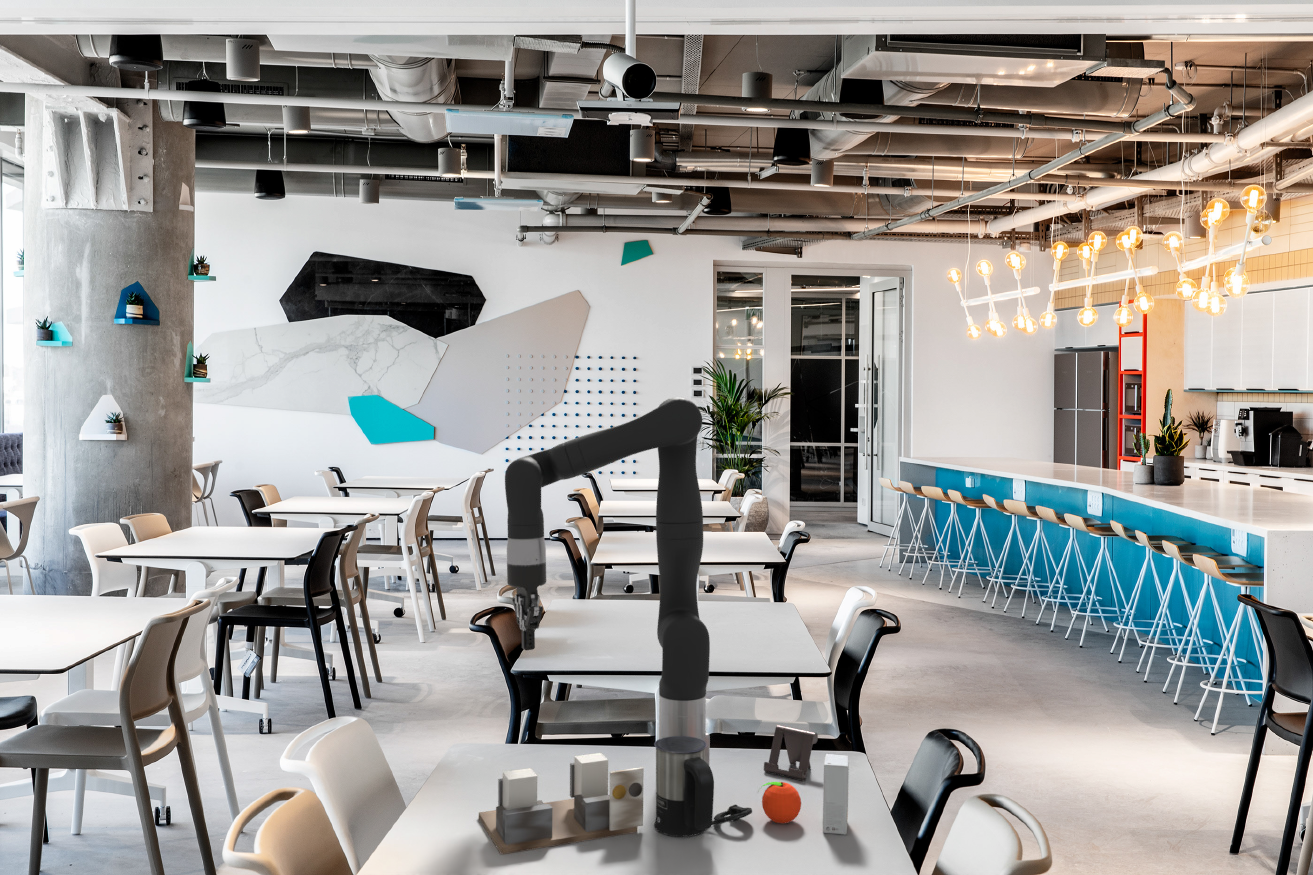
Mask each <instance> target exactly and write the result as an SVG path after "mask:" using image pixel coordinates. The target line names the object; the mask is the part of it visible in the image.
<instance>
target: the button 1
mask: <svg viewBox="0 0 1313 875" xmlns="http://www.w3.org/2000/svg"><path fill="white" fill-rule="evenodd" d="M497 782H498V783H497V784H498V786H497V787H498V788H497V789H498V792H497V797H498V798H497V800H498V801H497V803H498V804H497V806H504V808H505V809H506V810H510V809H516V808H523V807H530V806H537V801H538V775H537V774H536V772H535V771H534V770H533V769H532V767H531V768H530V767H529V768H523V769H515V770H514V769H513V770H508V771H507V770H506V771H502V778H498V781H497Z"/></svg>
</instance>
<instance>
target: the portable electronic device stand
mask: <svg viewBox="0 0 1313 875" xmlns="http://www.w3.org/2000/svg"><path fill="white" fill-rule="evenodd" d="M774 729H775V730H774V735H773V740H772V744H771V749H770V754H769V758H768V759H769V760H768V761H764V762H763V772H764V773H769V774H773V775H776V776H782V777H786V778H791V779H794V780H798V781H803V782H805V781H806V779H807V776H808V770H811V768H812V766H811V762H810V761H811V760H810V759H811V755H812V748H813V745H814V744H817V742H818V739H819V734H818V733H817V732H814V731H808V730H804V729H799V728H796V727H795V728H794V727H790V726H784V725H782V724H781V725H779V724H777V725H776V727H775V728H774ZM783 740H784V743H785V747H786V751H787V752H786V754H787V757H788V762H789V764H790V765H791V766H797V762H798V763H799V764H798V768H794V767H788V770H785V769H781V768H779V759H780V753H781V748H782V743H783Z"/></svg>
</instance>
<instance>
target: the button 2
mask: <svg viewBox="0 0 1313 875" xmlns="http://www.w3.org/2000/svg"><path fill="white" fill-rule="evenodd" d="M573 760H574V761H573V762H570V763H569V797H570V799H574V795H580V794H581V795H582V796H583V797H584V798H591V797H598V796H604V795H609V759H608V758H607V757H606V756H605V755H604V754H602V752H599V753H597V752H596V753H589V754H583V755H575V756H574V759H573Z"/></svg>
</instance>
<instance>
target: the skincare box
mask: <svg viewBox="0 0 1313 875" xmlns="http://www.w3.org/2000/svg"><path fill="white" fill-rule="evenodd" d="M849 763H850V762H849V755H844V754H843V755H842V754H841V755H840V754H832V753H831V754H830V753H826V754H825V755H824V762H823V764H824V765H823V792H822V793H823V794H822V795H823V797H822V798H823V804H822V805H823V806H822V833H826V834H836V835H845V836H846V835H847V834H848V815H849V775H850V774H849V772H850V771H849V770H850V769H849Z"/></svg>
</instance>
